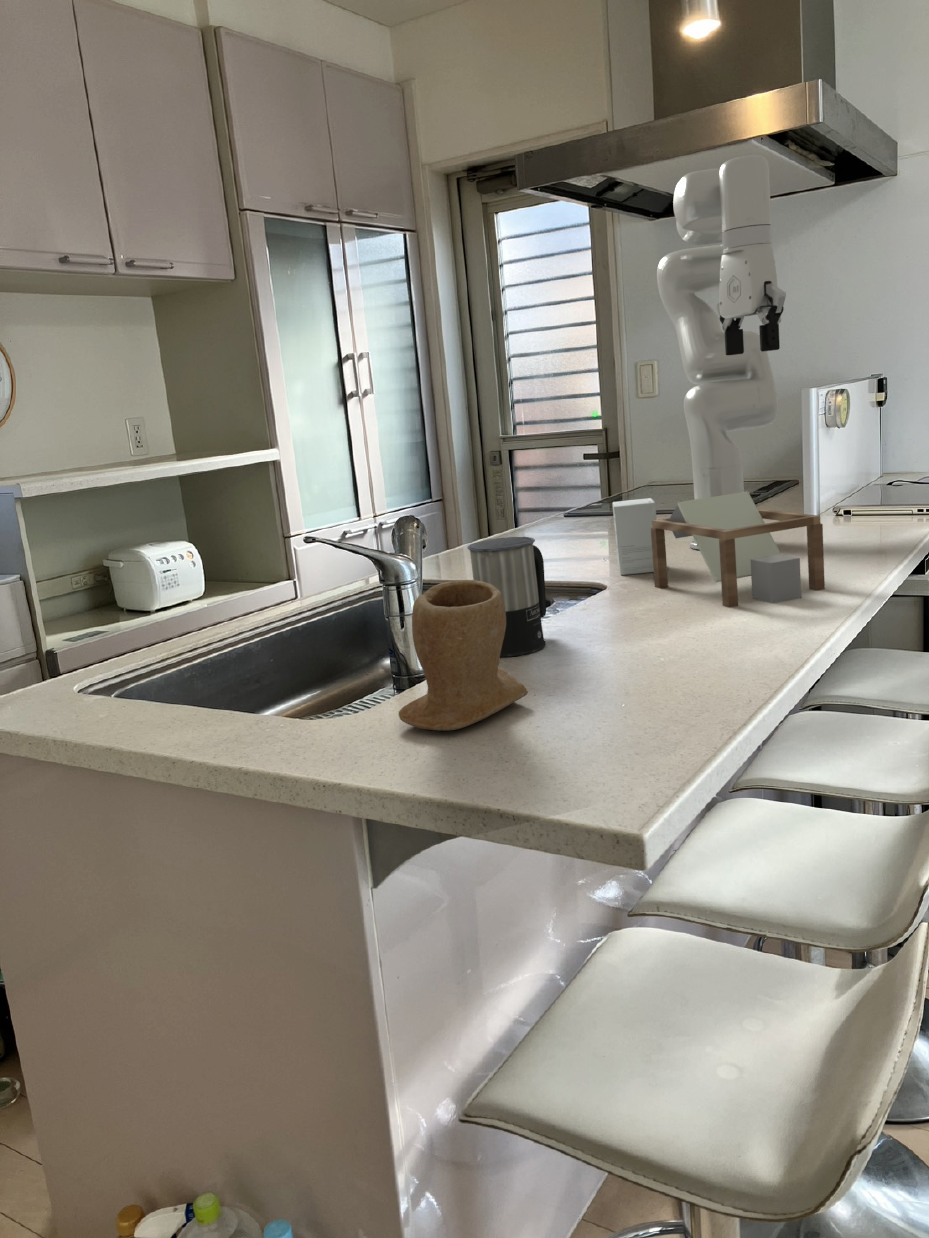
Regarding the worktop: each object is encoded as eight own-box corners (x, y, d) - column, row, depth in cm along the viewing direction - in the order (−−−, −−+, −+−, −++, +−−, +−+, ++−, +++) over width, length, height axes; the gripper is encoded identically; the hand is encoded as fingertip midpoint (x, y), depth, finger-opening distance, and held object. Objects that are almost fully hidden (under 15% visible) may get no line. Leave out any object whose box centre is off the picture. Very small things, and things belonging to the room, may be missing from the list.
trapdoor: (667, 521, 165) (678, 502, 161) (734, 510, 169) (747, 491, 164) (703, 598, 158) (716, 580, 154) (773, 585, 162) (788, 567, 158)
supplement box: (657, 565, 188) (652, 497, 185) (660, 572, 181) (655, 501, 178) (617, 568, 189) (611, 501, 186) (619, 575, 182) (613, 505, 179)
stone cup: (466, 746, 102) (449, 601, 98) (385, 730, 110) (367, 595, 107) (557, 703, 112) (545, 570, 109) (478, 691, 120) (464, 567, 117)
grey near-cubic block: (770, 563, 146) (772, 603, 148) (799, 558, 148) (801, 598, 149) (750, 559, 151) (752, 598, 152) (779, 554, 153) (780, 593, 154)
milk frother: (539, 657, 133) (528, 545, 130) (424, 662, 137) (411, 553, 134) (556, 630, 146) (546, 529, 143) (451, 635, 150) (439, 537, 147)
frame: (654, 586, 169) (650, 520, 166) (741, 570, 173) (738, 506, 171) (728, 607, 148) (724, 532, 146) (824, 588, 153) (822, 515, 151)
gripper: (697, 252, 167) (703, 358, 171) (758, 233, 151) (763, 351, 155) (736, 249, 169) (741, 354, 173) (801, 230, 153) (805, 346, 157)
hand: (752, 352), depth 164 cm, fingers open, 9 cm apart
